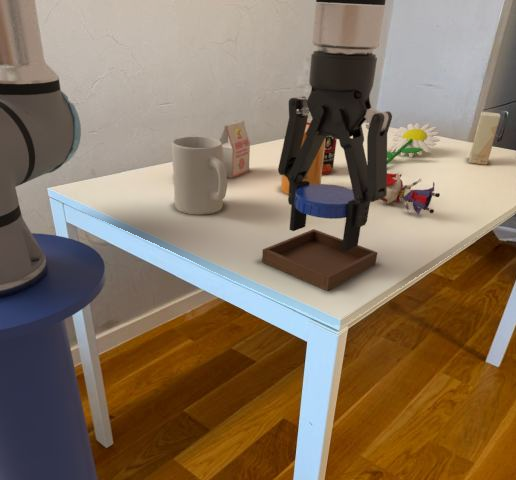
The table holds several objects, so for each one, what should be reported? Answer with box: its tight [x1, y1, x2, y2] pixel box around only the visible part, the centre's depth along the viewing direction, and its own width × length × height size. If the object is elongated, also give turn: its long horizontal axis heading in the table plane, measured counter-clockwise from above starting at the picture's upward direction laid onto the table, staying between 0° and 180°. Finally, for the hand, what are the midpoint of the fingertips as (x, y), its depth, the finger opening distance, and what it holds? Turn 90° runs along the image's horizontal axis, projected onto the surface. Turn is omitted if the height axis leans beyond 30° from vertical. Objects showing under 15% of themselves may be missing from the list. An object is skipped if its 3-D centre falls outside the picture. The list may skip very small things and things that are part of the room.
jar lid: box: [294, 183, 354, 220], centre depth 67 cm, size 9×9×2 cm
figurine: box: [380, 172, 441, 216], centre depth 93 cm, size 6×8×15 cm
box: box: [468, 111, 502, 166], centre depth 122 cm, size 5×4×11 cm
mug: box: [171, 136, 228, 216], centre depth 86 cm, size 12×8×11 cm
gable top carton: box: [219, 120, 251, 179], centre depth 106 cm, size 4×7×10 cm, turn 149°
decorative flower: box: [387, 122, 441, 165], centre depth 124 cm, size 13×5×30 cm
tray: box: [261, 228, 379, 292], centre depth 72 cm, size 12×12×2 cm
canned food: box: [306, 113, 338, 176], centre depth 110 cm, size 8×8×11 cm
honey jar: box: [280, 125, 326, 195], centre depth 97 cm, size 8×8×12 cm
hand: (322, 237), depth 70 cm, fingers closed on jar lid, 8 cm apart
